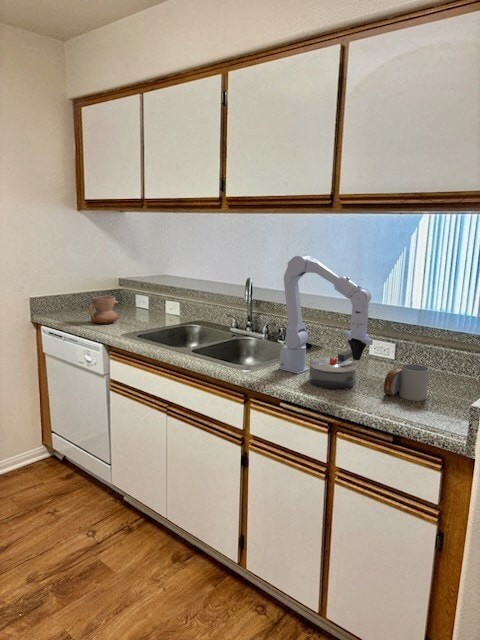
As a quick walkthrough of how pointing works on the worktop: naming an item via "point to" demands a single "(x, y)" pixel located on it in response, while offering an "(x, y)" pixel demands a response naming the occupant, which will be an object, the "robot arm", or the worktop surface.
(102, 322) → the ceramic jug
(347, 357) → the lid
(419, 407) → the worktop surface
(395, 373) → the tin
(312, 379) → the cooker pot
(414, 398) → the cup
